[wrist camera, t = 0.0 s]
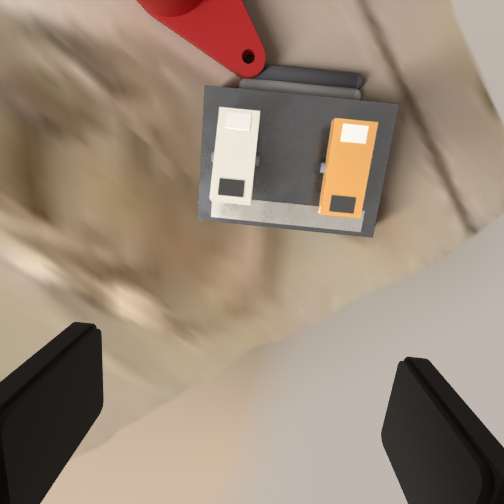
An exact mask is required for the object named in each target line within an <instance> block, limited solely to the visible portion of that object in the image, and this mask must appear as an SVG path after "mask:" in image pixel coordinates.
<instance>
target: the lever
mask: <svg viewBox="0 0 504 504" xmlns="http://www.w3.org/2000/svg"><path fill="white" fill-rule="evenodd" d="M137 2H138V3H139V4H140V5H141V6H142V7H143V8H144V9H145V10H146V11H147V12H148V13H149V14H150V15H151V16H152V17H154V18H155V19H157V20H158V21H160V22H161V23H162V24H164V25H165V26H167V27H168V28H170V29H171V30H173V31H174V32H175V33H177V34H178V35H180V36H181V37H183V38H184V39H185V40H187V41H188V42H190V43H191V44H193V45H194V46H196V47H197V48H198V49H200V50H201V51H203V52H204V53H206V54H207V55H208V56H210V57H211V58H213V59H214V60H216V61H217V62H219V63H220V64H221V65H223V66H224V67H226V68H227V69H229V70H230V71H231V72H233V73H234V74H236V75H237V76H239V77H240V78H242V79H243V78H245V79H254V78H256V77H257V76H258V75H260V73H261V72H262V71H263V69H264V67H265V64H266V56H265V50H264V47H263V45H262V43H261V41H260V39H259V37H258V34H257V32H256V30H255V28H254V26H253V24H252V21H251V19H250V17H249V15H248V13H247V11H246V8H245V6H244V4H243V2H242V0H137ZM246 55H253V56H254V57H255V59H254V61H253V62H252V63H251V64H246V63H244V61H243V60H244V58H245V56H246Z"/></svg>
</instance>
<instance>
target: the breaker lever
mask: <svg viewBox="0 0 504 504" xmlns="http://www.w3.org/2000/svg"><path fill="white" fill-rule="evenodd" d="M377 127H378V122H372V121H362V120H352V119H341V118H334V119H333V120H332V121H331V128H330V135H329V141H328V148H327V155H326V161H325V163H321V165H320V173H324V175H323V181H322V188H321V195H320V201H319V208H318V213H319V214H321V215H331V216H341V217H351V218H361V213H362V208H363V202H364V197H365V191H366V186H367V181H368V177H369V175H370V165H371V159H372V154H373V149H374V143H375V138H376V132H377Z"/></svg>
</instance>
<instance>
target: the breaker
mask: <svg viewBox="0 0 504 504" xmlns="http://www.w3.org/2000/svg"><path fill="white" fill-rule="evenodd" d="M259 123H260V111H257V110H247V109H237V108H227V107H219V114H218V123H217V132H216V141H215V150H214V152H212V154H211V162H213V168H212V177H211V186H210V195H209V199H210V200H211V202H220V203H230V204H240V205H250V206H251V200H252V191H253V181H254V171H255V166H258V167H259V162H260V156H256V152H257V142H258V133H259Z"/></svg>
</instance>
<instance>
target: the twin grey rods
mask: <svg viewBox="0 0 504 504" xmlns="http://www.w3.org/2000/svg"><path fill="white" fill-rule="evenodd" d="M246 64H251V63H246ZM363 81H364V79H363V76H362V75H361V74H359V73H350V72H340V71H329V70H319V69H308V68H298V67H288V66H277V65H267V64H265V67H264V69H263V71H262V72H261V73H260V75H258V76H257V77H256V78H254V79H245V78H243V79H242V80H241V81H240V82H239V89H249V90H259V91H269V92H280V93H290V94H300V95H311V96H321V97H331V98H342V99H352V100H360V98H361V92H360V91H359V90H358V89H359V88H360V87H361V86H362V85H363Z"/></svg>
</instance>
